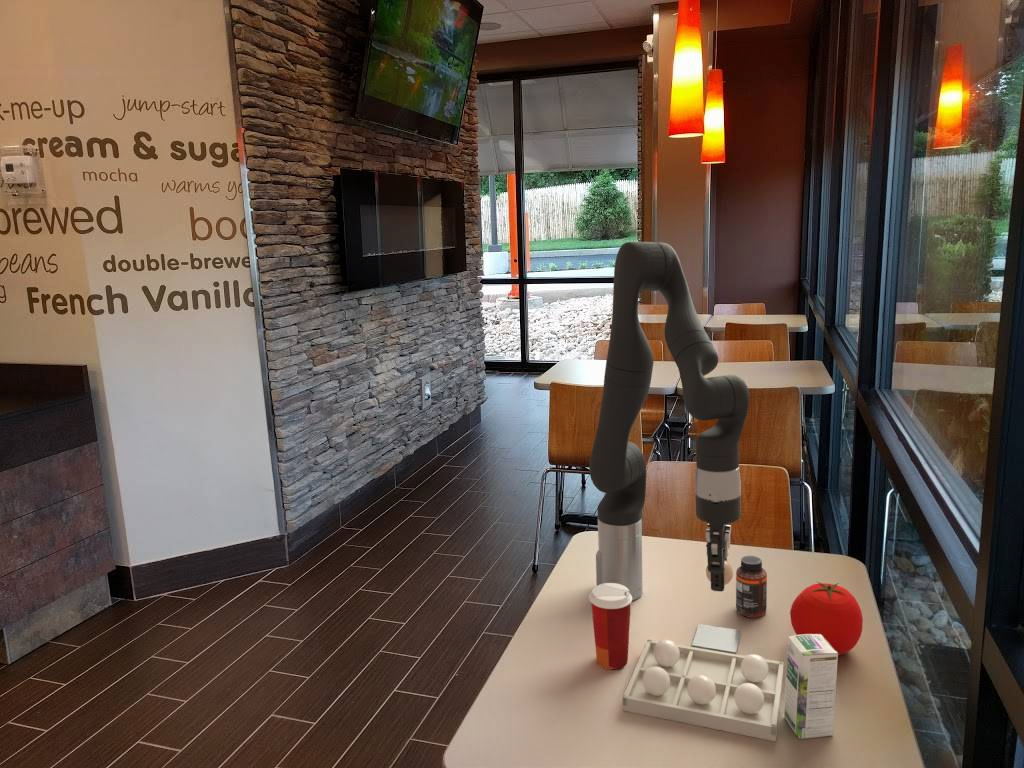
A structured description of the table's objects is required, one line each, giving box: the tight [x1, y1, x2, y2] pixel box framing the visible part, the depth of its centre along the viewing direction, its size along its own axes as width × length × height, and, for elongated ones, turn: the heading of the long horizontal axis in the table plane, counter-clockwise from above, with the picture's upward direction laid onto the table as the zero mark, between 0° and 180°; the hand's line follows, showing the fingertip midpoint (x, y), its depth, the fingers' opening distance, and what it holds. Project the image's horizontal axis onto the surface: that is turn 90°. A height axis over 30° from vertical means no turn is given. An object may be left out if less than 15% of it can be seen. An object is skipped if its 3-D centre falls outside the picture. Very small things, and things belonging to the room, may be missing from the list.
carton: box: [622, 639, 785, 742], centre depth 131 cm, size 24×18×6 cm
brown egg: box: [705, 560, 734, 586], centre depth 135 cm, size 5×5×5 cm
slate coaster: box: [691, 623, 742, 654], centre depth 147 cm, size 8×8×1 cm
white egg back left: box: [654, 639, 680, 667], centre depth 137 cm, size 5×5×5 cm
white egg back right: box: [740, 653, 769, 683], centre depth 132 cm, size 5×5×5 cm
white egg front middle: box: [687, 675, 716, 705], centre depth 127 cm, size 5×5×5 cm
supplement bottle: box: [735, 555, 768, 618], centre depth 155 cm, size 6×6×11 cm
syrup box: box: [783, 634, 839, 740], centre depth 120 cm, size 6×6×14 cm
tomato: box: [789, 581, 864, 656], centre depth 141 cm, size 12×12×13 cm
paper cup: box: [588, 583, 633, 670], centre depth 140 cm, size 8×8×14 cm
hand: (719, 583), depth 135 cm, fingers closed on brown egg, 4 cm apart
